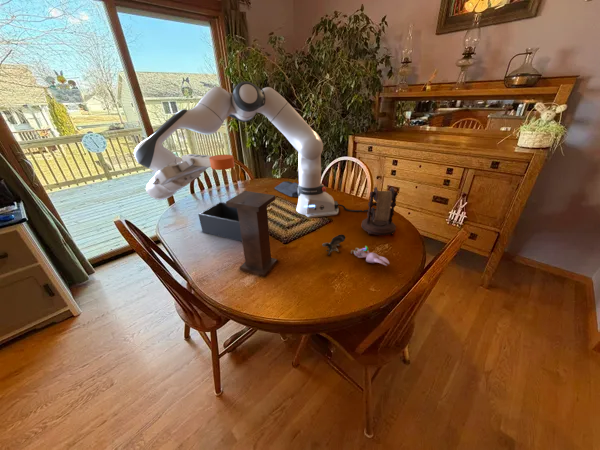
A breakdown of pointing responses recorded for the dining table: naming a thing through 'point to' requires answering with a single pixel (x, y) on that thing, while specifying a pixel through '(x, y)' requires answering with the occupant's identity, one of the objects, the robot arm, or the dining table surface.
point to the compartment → (221, 221)
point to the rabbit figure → (370, 256)
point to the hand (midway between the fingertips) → (198, 158)
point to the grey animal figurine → (334, 243)
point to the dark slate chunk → (288, 188)
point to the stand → (254, 231)
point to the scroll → (381, 213)
